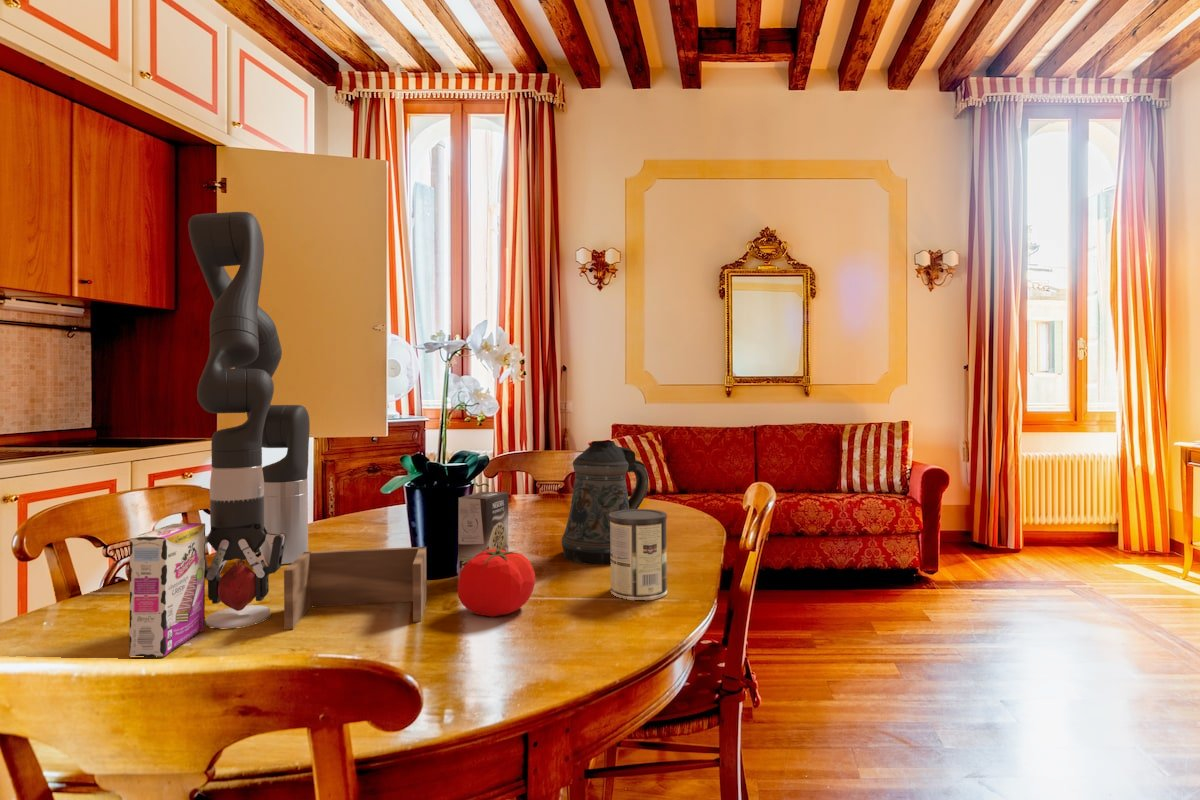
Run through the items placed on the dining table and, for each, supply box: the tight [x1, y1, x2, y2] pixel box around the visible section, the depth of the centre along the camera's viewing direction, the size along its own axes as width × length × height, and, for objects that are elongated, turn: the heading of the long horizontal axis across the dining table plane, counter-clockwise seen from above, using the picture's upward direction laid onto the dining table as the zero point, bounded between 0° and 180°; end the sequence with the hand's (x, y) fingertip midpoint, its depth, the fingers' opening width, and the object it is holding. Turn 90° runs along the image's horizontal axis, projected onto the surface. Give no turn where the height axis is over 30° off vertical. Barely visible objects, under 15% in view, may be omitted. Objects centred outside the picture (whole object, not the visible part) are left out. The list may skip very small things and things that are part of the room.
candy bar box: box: [128, 522, 206, 659], centre depth 96 cm, size 11×5×16 cm, turn 5°
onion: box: [218, 559, 257, 611], centre depth 106 cm, size 6×6×8 cm
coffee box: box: [457, 491, 510, 582], centre depth 130 cm, size 9×6×16 cm
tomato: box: [457, 548, 536, 618], centre depth 110 cm, size 11×13×10 cm
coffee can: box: [609, 508, 668, 601], centre depth 120 cm, size 10×10×14 cm
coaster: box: [205, 604, 271, 629], centre depth 106 cm, size 9×9×1 cm
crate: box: [283, 546, 428, 631], centre depth 109 cm, size 12×20×9 cm, turn 100°
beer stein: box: [561, 440, 650, 565], centre depth 148 cm, size 16×19×25 cm
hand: (238, 600), depth 106 cm, fingers closed on onion, 5 cm apart
